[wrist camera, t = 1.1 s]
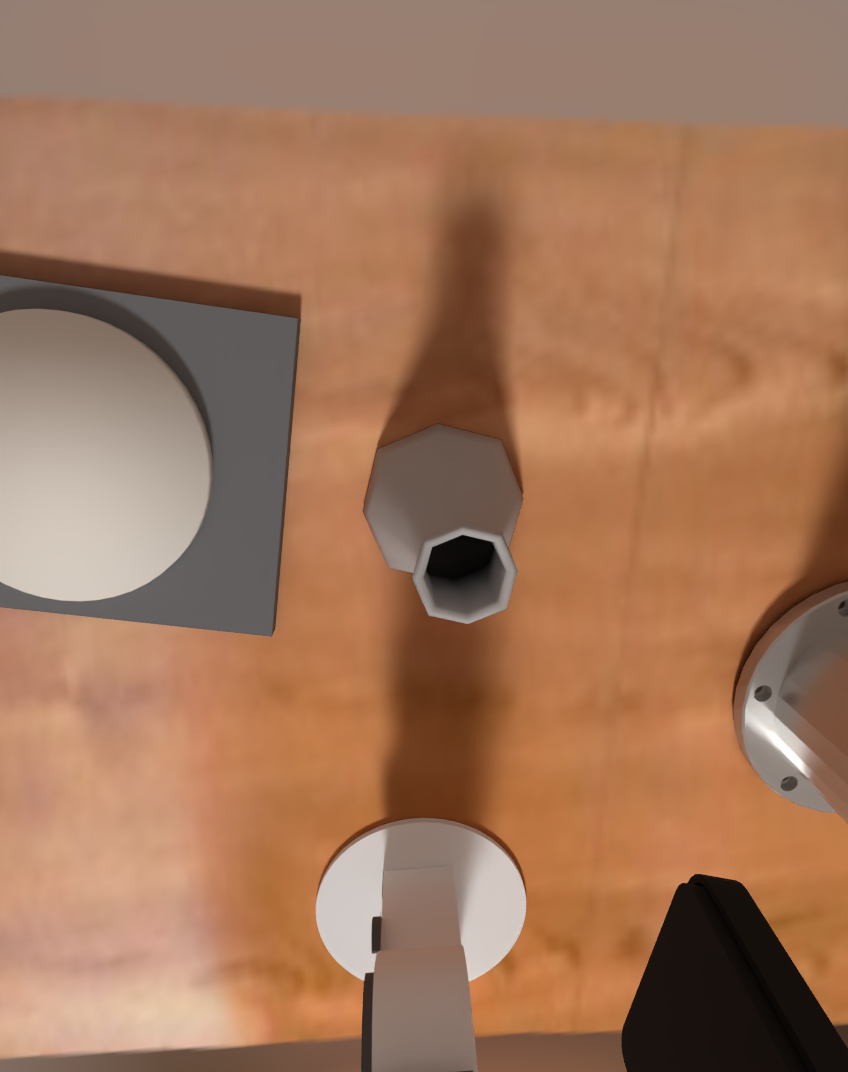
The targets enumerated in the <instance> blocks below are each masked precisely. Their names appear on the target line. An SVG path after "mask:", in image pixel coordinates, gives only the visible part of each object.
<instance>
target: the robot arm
mask: <svg viewBox="0 0 848 1072" xmlns="http://www.w3.org/2000/svg"><path fill="white" fill-rule="evenodd" d="M733 714H734V727H735V733H736V736H737V739H738V743H739V746H740V749H741V751H742V753H743V754H744V756H745V758H746V759H747V761H748V763H749V764H750V766H751V767H752V768H753V770H754V771H755V772H756V773H757V774H758V775H759V776H760V778H761V779H762V780H763V781H764V782H765V784H767V785H768V786H769V787H770V788H771V789H772V790H773V791H774V792H776V793H777V794H778V795H780V796H781V797H783V798H785V799H787V800H789V801H791V802H793V803H795V804H797V805H799V806H802V807H805V808H809V809H812V810H816V811H819V812H830V813H838V814H839V815H840V816H841V817H842V818H843V819H844V821H845V822H846V823H847V824H848V582H844V583H840V584H837V585H834V586H832V587H830V588H827V589H825V590H823V591H820V592H818V593H816V594H813V595H812V596H810V597H809V598H807V599H805V600H804V601H802V602H801V603H799V604H797V605H796V606H794V607H793V608H791V609H790V610H789V611H788V612H787V613H785V614H784V615H783V616H782V617H781V618H780V619H779V620H777V621H776V622H775V623H774V624H773V625H772V626H771V627H770V628H769V629H768V631H767V632H766V633H765V634H764V636H763V637H762V638H761V639H760V640H759V642H758V643H757V644H756V645H755V647H754V649H753V651H752V653H751V654H750V656H749V658H748V660H747V661H746V663H745V665H744V667H743V670H742V673H741V676H740V678H739V681H738V684H737V687H736V693H735V700H734V707H733ZM622 1053H623V1058H624V1062H625V1066H626V1069H627V1072H848V1048H847V1047H846V1045H845V1044H844V1042H843V1040H842V1039H841V1037H840V1036H839V1034H838V1033H837V1031H836V1029H835V1028H834V1026H833V1025H832V1023H831V1021H830V1020H829V1018H828V1017H827V1015H826V1014H825V1012H824V1010H823V1009H822V1007H821V1006H820V1004H819V1003H818V1001H817V999H816V998H815V996H814V995H813V993H812V992H811V990H810V988H809V987H808V985H807V984H806V982H805V981H804V979H803V977H802V976H801V974H800V973H799V971H798V969H797V968H796V966H795V965H794V963H793V962H792V960H791V958H790V957H789V955H788V954H787V952H786V951H785V949H784V947H783V946H782V944H781V943H780V941H779V940H778V938H777V936H776V935H775V933H774V932H773V930H772V929H771V927H770V925H769V924H768V922H767V921H766V919H765V918H764V916H763V914H762V913H761V911H760V910H759V908H758V907H757V905H756V903H755V902H754V900H753V899H752V897H751V896H750V894H749V892H748V891H747V889H746V888H745V887H744V886H743V885H742V884H741V883H740V882H738V881H736V880H730V879H725V878H719V877H713V876H708V875H702V874H695V875H694V876H692V877H691V878H690V880H689V882H688V883H682V884H680V885H679V886H678V888H677V890H676V892H675V894H674V897H673V900H672V902H671V905H670V907H669V910H668V912H667V915H666V918H665V920H664V923H663V925H662V928H661V930H660V933H659V936H658V938H657V941H656V943H655V946H654V949H653V951H652V954H651V956H650V959H649V961H648V964H647V967H646V969H645V972H644V974H643V977H642V979H641V982H640V985H639V987H638V990H637V992H636V995H635V997H634V1000H633V1003H632V1005H631V1008H630V1010H629V1013H628V1015H627V1018H626V1021H625V1023H624V1026H623V1030H622Z"/></svg>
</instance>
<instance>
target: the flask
mask: <svg viewBox="0 0 848 1072" xmlns="http://www.w3.org/2000/svg"><path fill="white" fill-rule="evenodd" d="M522 502H523V496H522V493H521V491H520V488H519V485H518V483H517V480H516V478H515V475H514V472H513V470H512V467H511V464H510V462H509V459H508V457H507V454H506V451H505V449H504V446H503V443H502V441H501V440H500V439H496V438H492V437H488V436H484V435H480V434H477V433H473V432H469V431H465V430H461V429H457V428H453V427H449V426H445V425H441V424H436V425H434V426H431V427H429V428H427V429H424V430H422V431H419V432H417V433H415V434H412V435H410V436H408V437H405V438H403V439H401V440H398V441H396V442H393V443H391V444H389V445H386V446H384V447H382V448H379V449H377V453H376V457H375V461H374V465H373V470H372V474H371V478H370V482H369V487H368V491H367V495H366V499H365V504H364V508H363V513H364V516H365V518H366V520H367V522H368V524H369V526H370V529H371V531H372V533H373V535H374V537H375V540H376V542H377V544H378V546H379V548H380V551H381V553H382V555H383V557H384V559H385V562H386V564H387V566H388V567H389V568H392V569H397V570H401V571H405V572H410V573H413V576H412V579H413V582H414V584H415V586H416V588H417V591H418V593H419V595H420V597H421V599H422V602H423V604H424V606H425V608H426V611H427V613H428V615H429V616H434V617H438V618H443V619H447V620H452V621H456V622H461V623H465V624H470V623H472V622H475V621H477V620H480V619H482V618H485V617H487V616H490V615H492V614H495V613H497V612H500V611H502V610H505V609H506V607H507V604H508V601H509V598H510V594H511V591H512V588H513V585H514V581H515V578H516V575H517V572H518V571H517V568H516V566H515V563H514V561H513V558H512V556H511V553H510V551H509V545H510V542H511V539H512V535H513V532H514V529H515V525H516V522H517V519H518V515H519V512H520V509H521V505H522Z"/></svg>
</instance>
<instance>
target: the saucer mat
mask: <svg viewBox="0 0 848 1072" xmlns="http://www.w3.org/2000/svg"><path fill="white" fill-rule="evenodd" d="M299 332H300V319H298V318H291V317H285V316H278V315H271V314H264V313H257V312H250V311H243V310H236V309H229V308H223V307H216V306H209V305H202V304H195V303H188V302H181V301H174V300H167V299H161V298H154V297H147V296H140V295H133V294H126V293H119V292H112V291H105V290H98V289H92V288H85V287H78V286H71V285H64V284H57V283H50V282H43V281H36V280H30V279H23V278H16V277H9V276H2V275H0V607H4V608H13V609H22V610H32V611H41V612H50V613H59V614H69V615H78V616H87V617H96V618H105V619H115V620H124V621H133V622H142V623H151V624H161V625H170V626H179V627H188V628H198V629H207V630H216V631H225V632H234V633H244V634H253V635H262V636H271V637H272V635H273V633H274V631H275V623H276V611H277V599H278V587H279V575H280V563H281V550H282V538H283V526H284V514H285V502H286V490H287V478H288V466H289V453H290V441H291V429H292V417H293V405H294V393H295V381H296V369H297V356H298V344H299Z"/></svg>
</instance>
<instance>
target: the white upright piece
mask: <svg viewBox="0 0 848 1072" xmlns="http://www.w3.org/2000/svg"><path fill="white" fill-rule="evenodd" d="M525 913H526V895H525V889H524V885H523V881H522V878H521V875H520V872H519V870H518V868H517V866H516V864H515V863H514V861H513V859H512V858H511V857H510V855H509V854H508V853H507V852H506V851H505V850H504V849H503V848H502V847H501V845H499V844H498V843H497V842H496V841H495V840H493V839H492V838H490V837H489V836H487V835H486V834H484V833H483V832H481V831H479V830H477V829H475V828H472V827H470V826H468V825H465V824H462V823H458V822H455V821H450V820H445V819H437V818H412V819H404V820H399V821H394V822H391V823H387V824H384V825H381V826H379V827H376V828H374V829H372V830H370V831H368V832H366V833H364V834H362V835H360V836H359V837H357V838H356V839H354V840H353V841H352V842H350V843H349V844H348V845H347V846H345V847H344V848H343V849H342V850H341V851H340V852H339V853H338V854H337V856H336V857H335V858H334V859H333V860H332V862H331V863H330V865H329V866H328V868H327V870H326V871H325V873H324V875H323V878H322V880H321V883H320V886H319V890H318V895H317V902H316V921H317V926H318V930H319V933H320V936H321V938H322V940H323V943H324V944H325V946H326V948H327V950H328V951H329V952H330V954H331V955H332V956H333V958H334V959H335V960H336V961H337V962H338V963H339V964H340V965H341V966H342V967H344V968H345V969H346V970H347V971H349V972H350V973H351V974H353V975H354V976H356V977H358V978H360V979H361V980H363V981H364V992H363V1013H362V1059H361V1061H362V1062H361V1065H362V1066H361V1069H362V1072H478V1071H477V1060H476V1049H475V1039H474V1029H473V1019H472V1009H471V999H470V990H469V981H472V980H474V979H476V978H477V977H479V976H481V975H483V974H484V973H486V972H487V971H489V970H490V969H491V968H493V967H494V966H495V965H496V964H498V963H499V962H500V961H501V960H502V959H503V958H504V957H505V956H506V954H507V953H508V952H509V951H510V949H511V948H512V947H513V945H514V944H515V942H516V940H517V938H518V936H519V934H520V932H521V929H522V927H523V923H524V919H525Z"/></svg>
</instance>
